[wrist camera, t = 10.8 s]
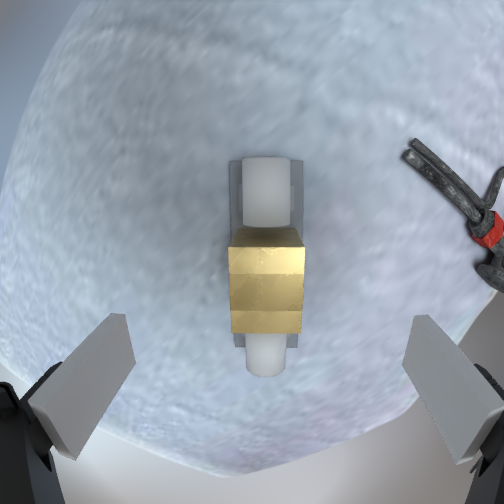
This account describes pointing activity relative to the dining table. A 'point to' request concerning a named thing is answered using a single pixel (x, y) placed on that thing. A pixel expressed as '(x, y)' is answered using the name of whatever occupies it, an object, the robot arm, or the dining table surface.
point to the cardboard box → (266, 280)
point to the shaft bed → (266, 216)
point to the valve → (469, 210)
